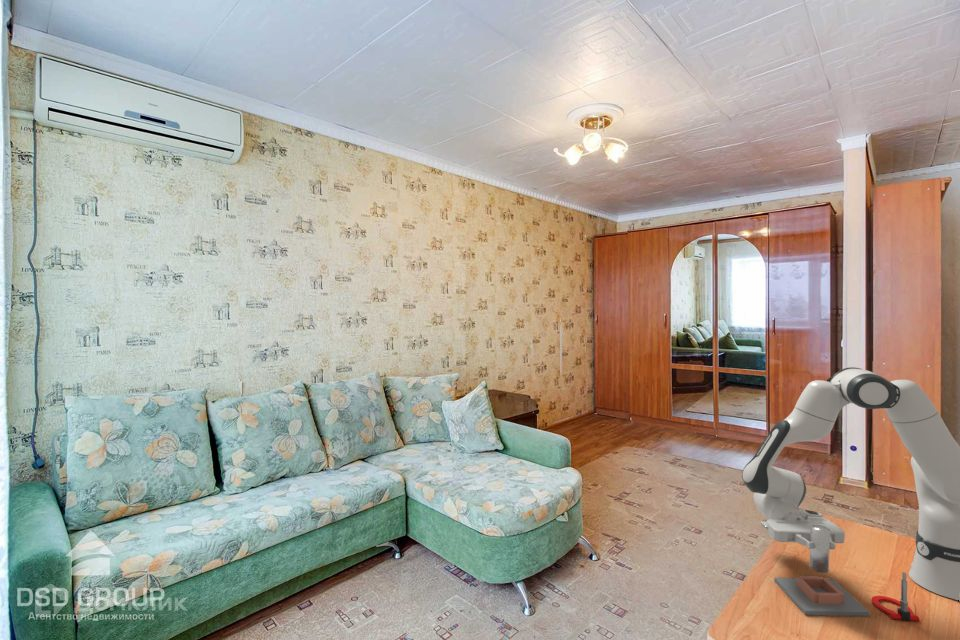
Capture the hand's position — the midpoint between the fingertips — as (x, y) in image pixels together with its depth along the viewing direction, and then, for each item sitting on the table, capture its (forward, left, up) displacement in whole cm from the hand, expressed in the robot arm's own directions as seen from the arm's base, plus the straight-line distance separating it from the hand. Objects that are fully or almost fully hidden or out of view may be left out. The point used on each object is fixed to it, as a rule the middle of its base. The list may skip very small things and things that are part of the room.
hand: (822, 546), depth 126 cm
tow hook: (-17, +3, -16) cm, 24 cm away
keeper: (0, -1, -16) cm, 16 cm away
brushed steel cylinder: (0, -1, -7) cm, 7 cm away
